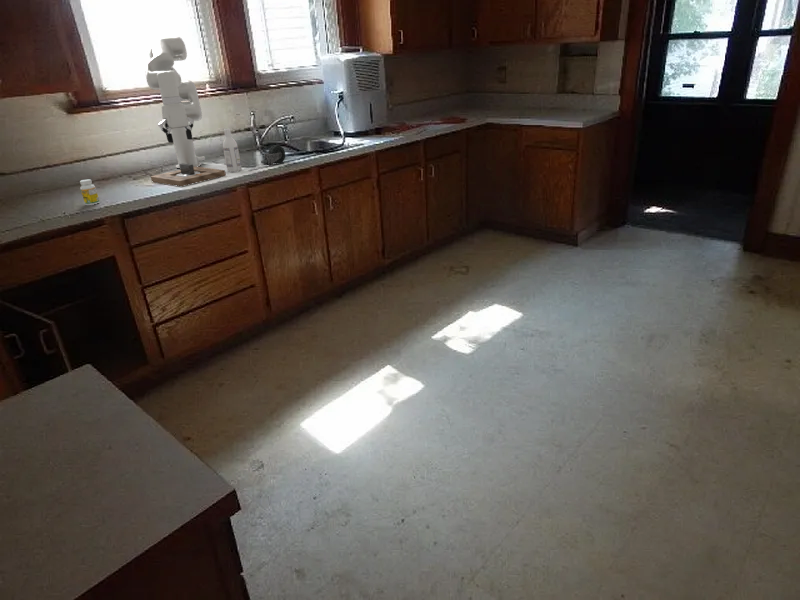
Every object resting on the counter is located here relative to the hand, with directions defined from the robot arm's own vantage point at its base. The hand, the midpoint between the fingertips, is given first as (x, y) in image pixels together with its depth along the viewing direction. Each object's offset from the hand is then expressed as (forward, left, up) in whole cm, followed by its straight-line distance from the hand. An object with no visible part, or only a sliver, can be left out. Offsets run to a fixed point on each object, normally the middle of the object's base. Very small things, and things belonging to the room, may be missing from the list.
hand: (180, 141), depth 243 cm
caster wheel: (-40, +14, -18) cm, 46 cm away
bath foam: (-21, +7, -18) cm, 28 cm away
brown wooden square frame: (0, 0, -17) cm, 17 cm away
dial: (0, 0, -17) cm, 17 cm away
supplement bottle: (+47, +4, -18) cm, 50 cm away
